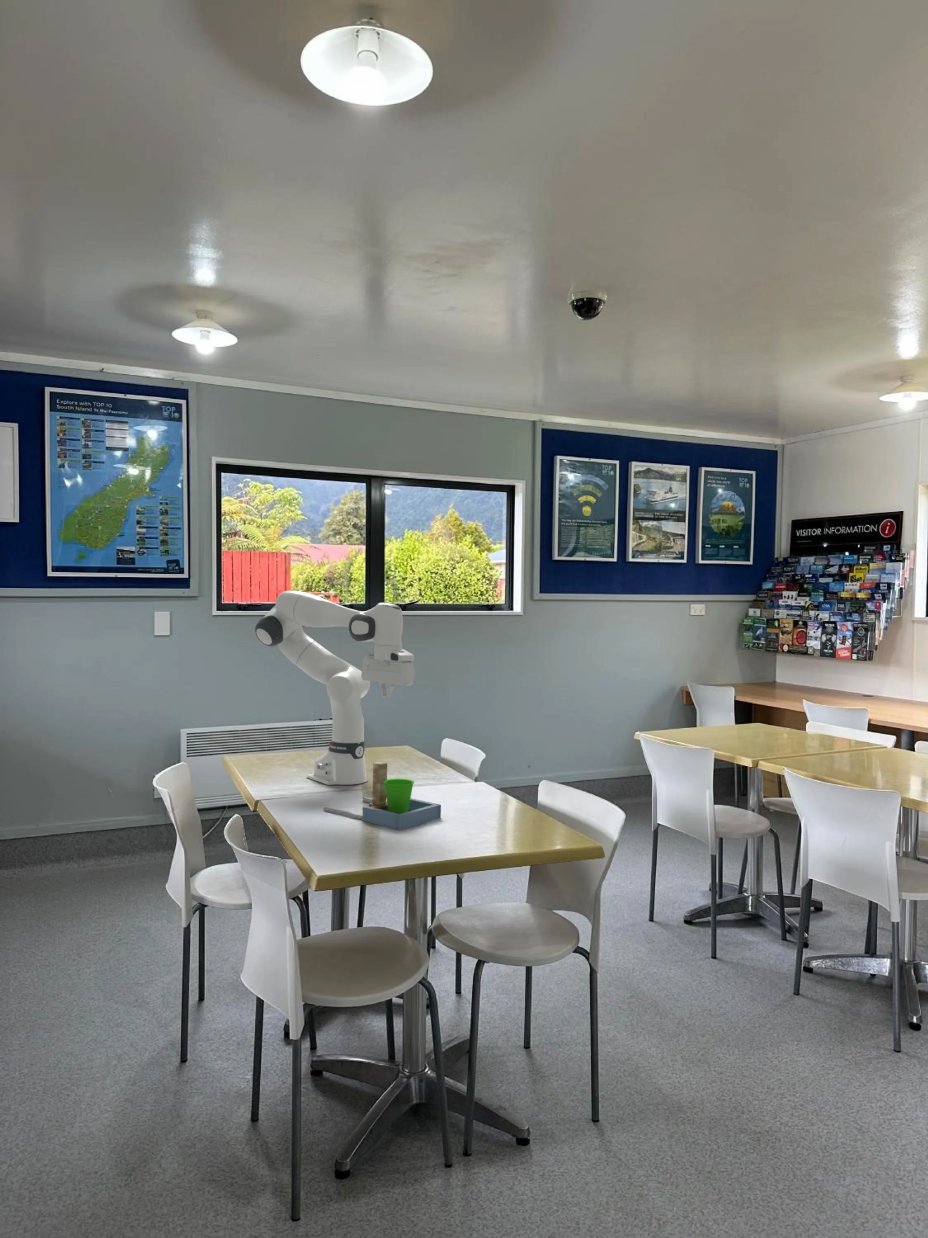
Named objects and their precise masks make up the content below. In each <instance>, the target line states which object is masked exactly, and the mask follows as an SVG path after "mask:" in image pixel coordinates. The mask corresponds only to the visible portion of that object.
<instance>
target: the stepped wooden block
mask: <svg viewBox="0 0 928 1238" xmlns="http://www.w3.org/2000/svg"><path fill="white" fill-rule="evenodd" d="M385 780H388V762H385V761H378V762H377V761H376V762H373V764H372V796H371V797H372V803H368V807H372V808H377V809H381V810H385V811H388V805H387V797H386V789H385V784H384V781H385Z"/></svg>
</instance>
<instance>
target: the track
mask: <svg viewBox="0 0 928 1238" xmlns="http://www.w3.org/2000/svg"><path fill="white" fill-rule="evenodd" d="M362 802H365V803H368V804H370V803H372V798H371V797H366V796H364V797H362ZM323 811H324V812H328V813H333V814H337V815H341V816H344V817H349V818H351V819H356V820H360V821H363V814H360V813H355V812H352V811H348V810H344V809H340V808H335V807H332V806H328V805H324V806H323Z"/></svg>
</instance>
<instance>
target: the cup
mask: <svg viewBox="0 0 928 1238" xmlns="http://www.w3.org/2000/svg"><path fill="white" fill-rule="evenodd" d="M384 784H385V789H386V797H387V798H386V801H387V805H388V811H389V812H393V813H397V814H402V813H405V812H408V809H409V804H410V798H412V797H411V796H412V793H413V787H414V784H415V781H414V780H412V779H410V778H400V777H398V778H387V780H385V781H384Z"/></svg>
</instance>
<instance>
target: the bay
mask: <svg viewBox="0 0 928 1238" xmlns="http://www.w3.org/2000/svg"><path fill="white" fill-rule="evenodd" d="M441 810H442V804H439V803H437V802H436V803H435V802H430V801H425V800H423V799H417V798H413V797H411V798H410V804H409V809H408V812H405V813H402V814H397V813H393V812H389V811H385V810H381V809H377V808H372V807H369V805H366V806H363V807H362V815H363V820H362V821H363V822H366V823H369V824H374V825H378V826H381V827H386V828H390V829H394V830H398V831H401V830H405V829H407V828H408V829H409V828H412V827H414V826H415V827H416V826H419V825H423V824H425V823H428V822H431V821H435V820H439V819H441V816H442V815H441V813H442V811H441Z"/></svg>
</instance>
